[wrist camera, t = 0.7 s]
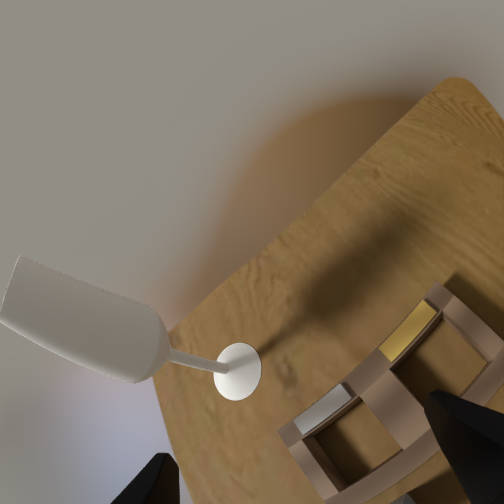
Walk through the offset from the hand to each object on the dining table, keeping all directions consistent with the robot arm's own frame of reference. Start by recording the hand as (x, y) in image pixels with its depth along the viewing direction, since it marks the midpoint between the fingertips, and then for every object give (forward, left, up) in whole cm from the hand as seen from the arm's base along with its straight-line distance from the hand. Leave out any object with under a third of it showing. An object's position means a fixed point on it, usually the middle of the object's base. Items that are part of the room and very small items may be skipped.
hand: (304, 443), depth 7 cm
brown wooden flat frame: (0, -1, -16) cm, 16 cm away
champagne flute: (+14, +10, -16) cm, 23 cm away
